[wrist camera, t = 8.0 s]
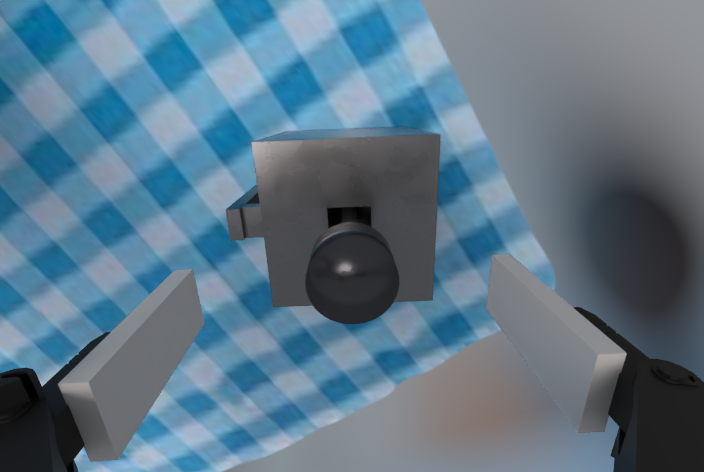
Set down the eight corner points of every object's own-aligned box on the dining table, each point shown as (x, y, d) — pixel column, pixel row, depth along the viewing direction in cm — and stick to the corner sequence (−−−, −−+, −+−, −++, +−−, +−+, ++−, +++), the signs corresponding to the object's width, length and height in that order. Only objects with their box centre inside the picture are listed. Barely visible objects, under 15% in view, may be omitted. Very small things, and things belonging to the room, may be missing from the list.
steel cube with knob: (404, 126, 35) (440, 134, 22) (403, 237, 39) (432, 300, 26) (256, 132, 35) (204, 143, 22) (270, 243, 39) (233, 308, 26)
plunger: (391, 146, 33) (449, 189, 15) (391, 231, 36) (439, 355, 18) (301, 150, 33) (247, 197, 15) (308, 235, 36) (271, 363, 18)
